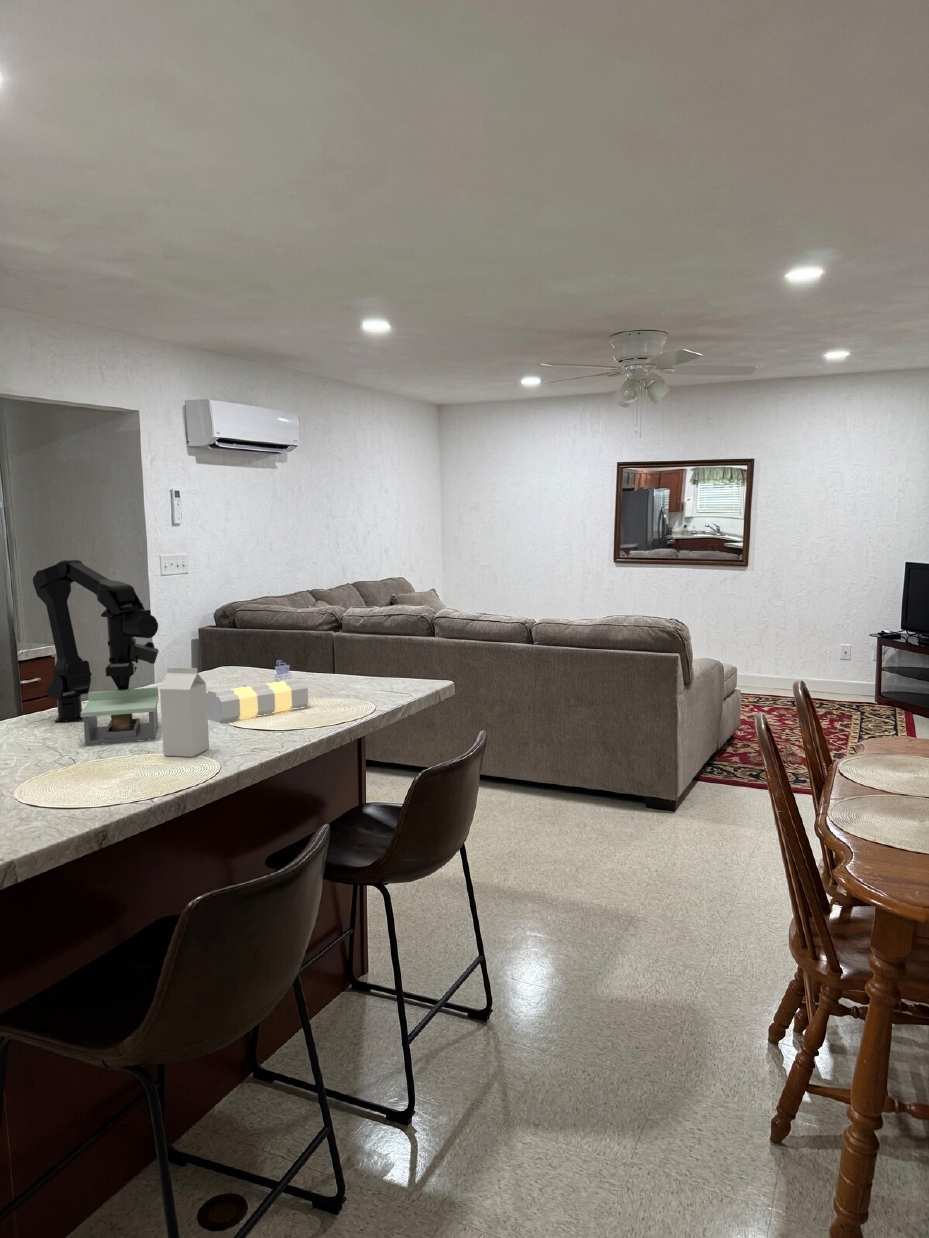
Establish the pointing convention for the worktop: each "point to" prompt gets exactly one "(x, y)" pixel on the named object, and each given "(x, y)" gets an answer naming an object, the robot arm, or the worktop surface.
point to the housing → (107, 736)
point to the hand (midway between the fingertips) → (125, 697)
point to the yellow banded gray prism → (257, 698)
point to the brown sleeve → (120, 722)
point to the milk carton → (184, 713)
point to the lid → (121, 702)
